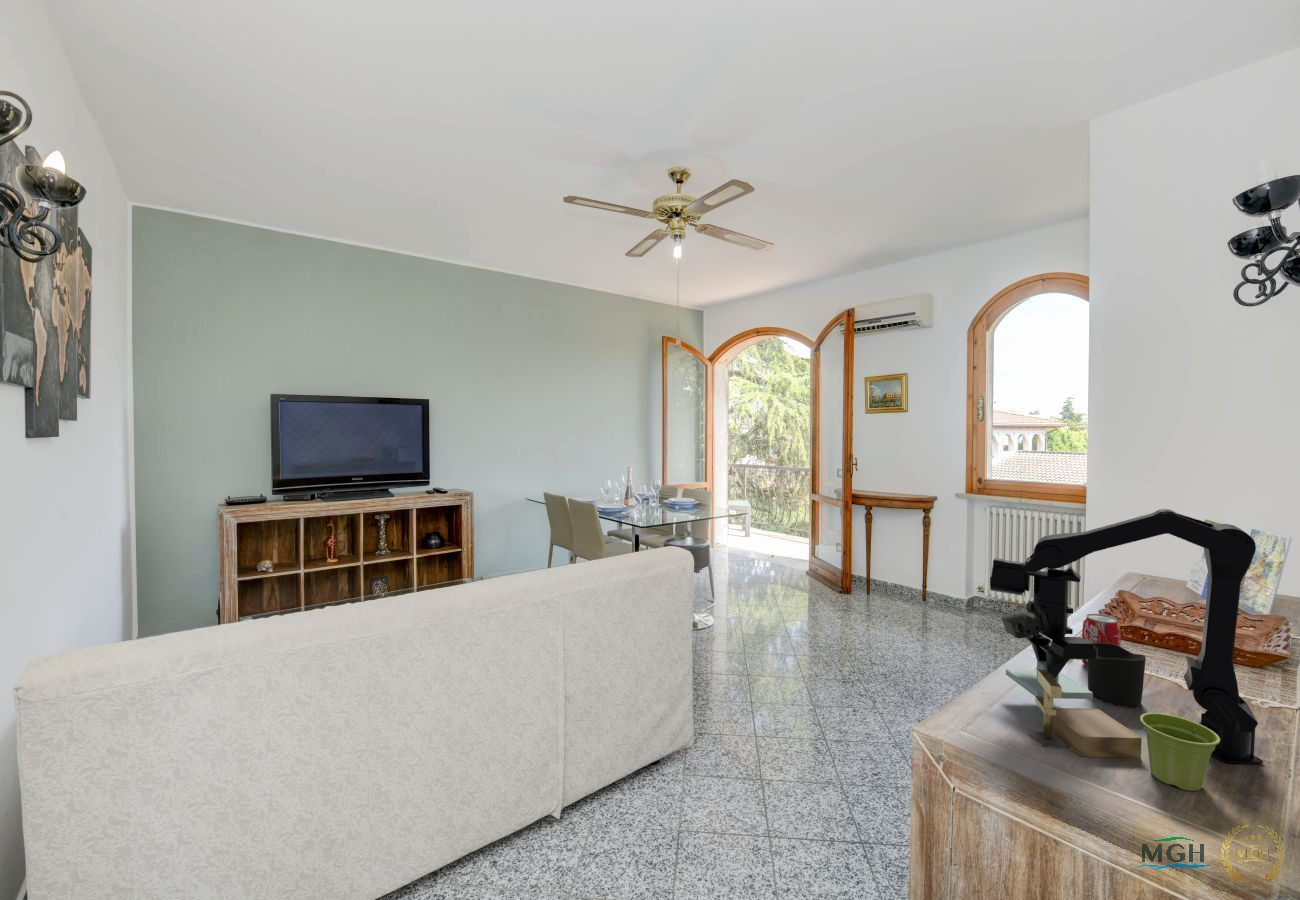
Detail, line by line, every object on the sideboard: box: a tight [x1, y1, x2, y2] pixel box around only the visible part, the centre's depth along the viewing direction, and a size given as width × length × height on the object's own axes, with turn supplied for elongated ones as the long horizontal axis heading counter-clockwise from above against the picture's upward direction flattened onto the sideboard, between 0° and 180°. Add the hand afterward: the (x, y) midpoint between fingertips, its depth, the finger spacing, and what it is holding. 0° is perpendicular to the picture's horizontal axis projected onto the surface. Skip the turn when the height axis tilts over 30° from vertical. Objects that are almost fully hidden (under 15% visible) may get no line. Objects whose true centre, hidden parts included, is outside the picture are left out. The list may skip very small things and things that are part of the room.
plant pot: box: [1139, 712, 1220, 792], centre depth 92 cm, size 9×9×9 cm
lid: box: [1005, 660, 1094, 700], centre depth 115 cm, size 10×10×5 cm
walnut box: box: [1026, 707, 1143, 759], centre depth 103 cm, size 15×10×4 cm
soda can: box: [1081, 613, 1122, 668], centre depth 134 cm, size 7×7×12 cm
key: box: [1034, 670, 1062, 740], centre depth 104 cm, size 8×2×11 cm, turn 162°
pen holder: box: [1087, 643, 1147, 708], centre depth 119 cm, size 9×9×10 cm
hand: (1048, 676), depth 115 cm, fingers closed on lid
